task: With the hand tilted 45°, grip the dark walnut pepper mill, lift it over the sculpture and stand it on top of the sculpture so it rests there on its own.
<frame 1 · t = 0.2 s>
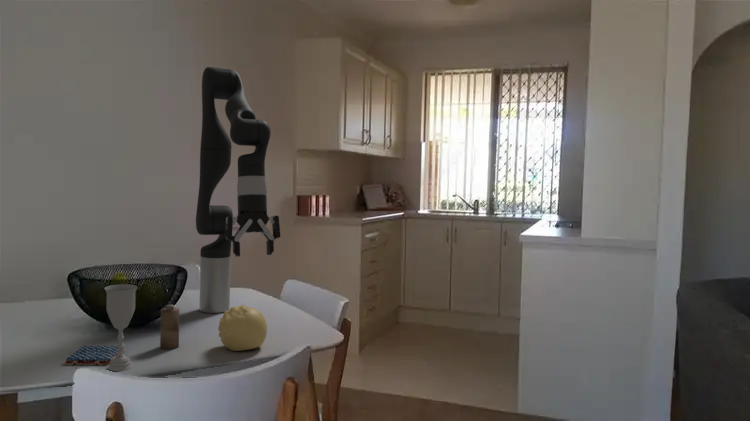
hand: (253, 255, 157), 22 cm above the table, tool pointing down, fingers open, 8 cm apart
sculpture: (242, 348, 151), on the table
walnut pepper mill: (169, 346, 149), on the table
chalice: (120, 368, 133), on the table
woven mat: (95, 361, 139), on the table
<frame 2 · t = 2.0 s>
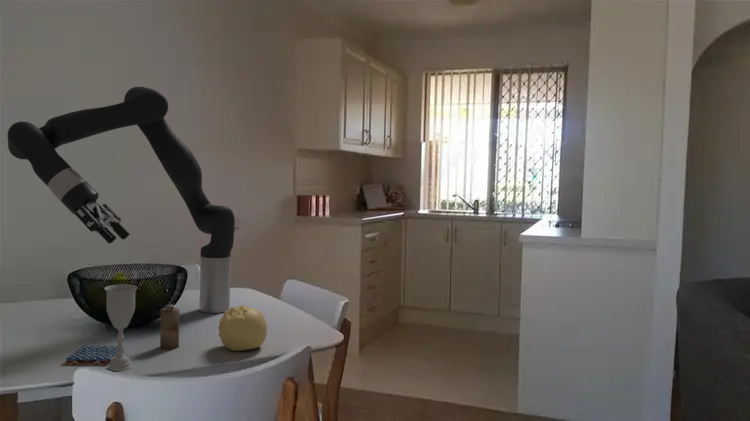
hand: (120, 239, 147), 27 cm above the table, tool tilted 45°, fingers open, 8 cm apart
nothing on the table moved.
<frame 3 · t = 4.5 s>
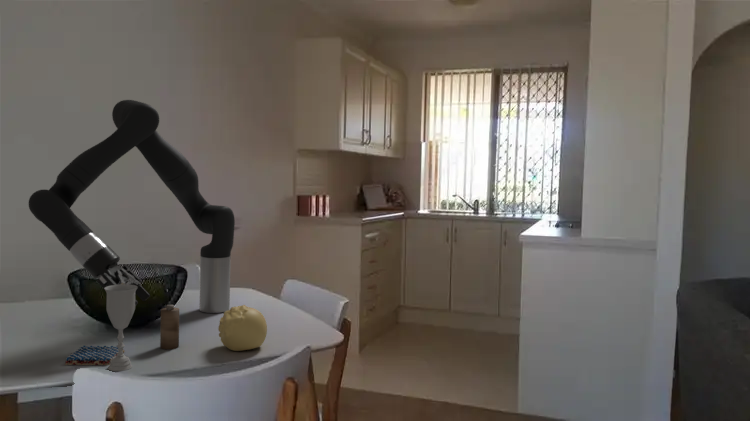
hand: (141, 302, 148), 11 cm above the table, tool tilted 45°, fingers open, 8 cm apart
nothing on the table moved.
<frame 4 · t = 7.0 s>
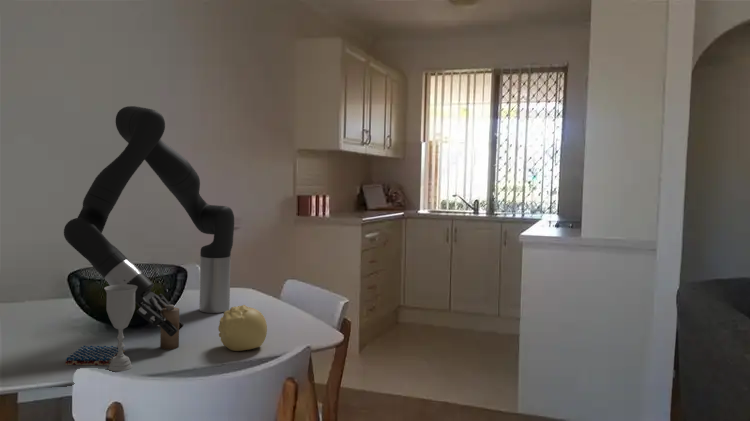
hand: (177, 330, 149), 4 cm above the table, tool tilted 45°, fingers closed on walnut pepper mill, 4 cm apart
walnut pepper mill: (169, 346, 149), on the table, touching gripper
everything else where it was.
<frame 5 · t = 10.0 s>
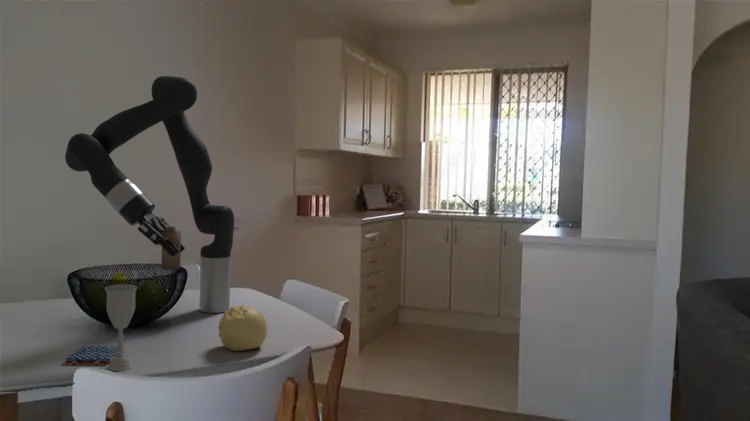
hand: (179, 252, 148), 24 cm above the table, tool tilted 45°, fingers closed on walnut pepper mill, 4 cm apart
walnut pepper mill: (170, 268, 148), point 20 cm above the table, touching gripper
everything else where it was.
when the fingers open (16 cm above the table, at t = 13.3 s): walnut pepper mill drops 2 cm, resting on sculpture.
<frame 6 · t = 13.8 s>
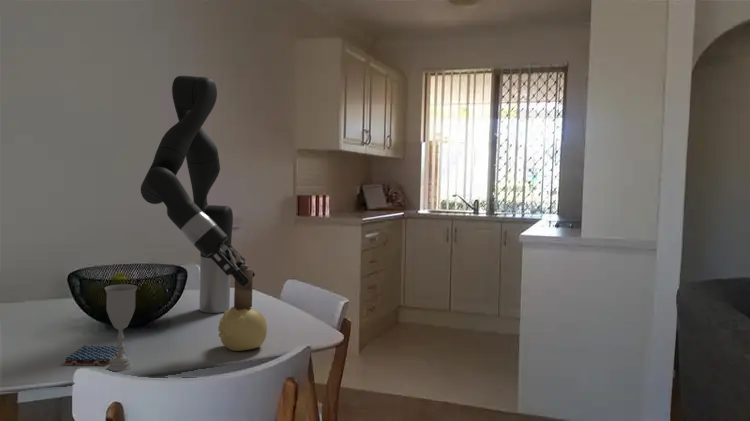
hand: (249, 280, 150), 17 cm above the table, tool tilted 45°, fingers open, 8 cm apart
sculpture: (242, 348, 151), on the table, touching walnut pepper mill
walnut pepper mill: (243, 306, 150), point 11 cm above the table, touching sculpture
everything else where it was.
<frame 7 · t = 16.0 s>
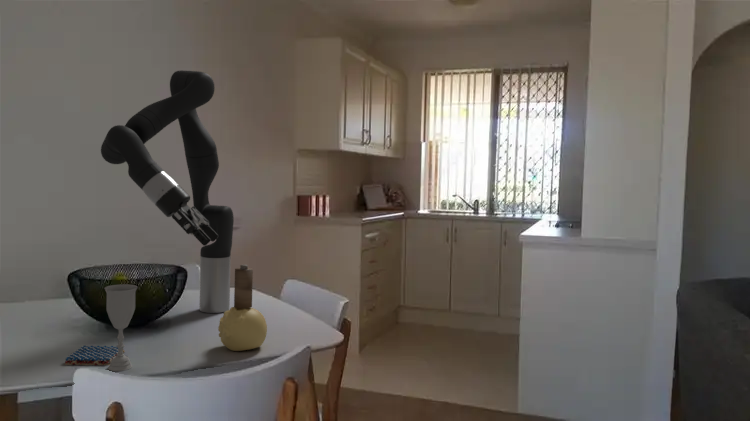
hand: (212, 241, 149), 27 cm above the table, tool tilted 45°, fingers open, 8 cm apart
nothing on the table moved.
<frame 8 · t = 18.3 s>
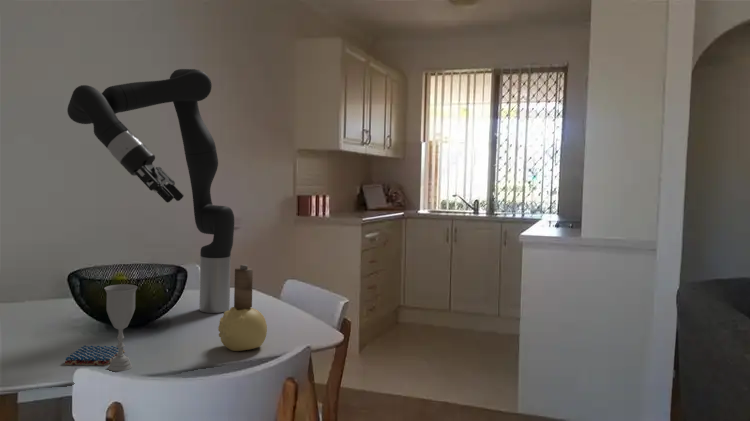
hand: (176, 199, 153), 37 cm above the table, tool tilted 45°, fingers open, 8 cm apart
nothing on the table moved.
at the end: walnut pepper mill inside the target area on the sculpture (0.1 cm from its centre), point 10.8 cm above the sculpture's base; walnut pepper mill tilted 0°; the gripper is holding nothing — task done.
